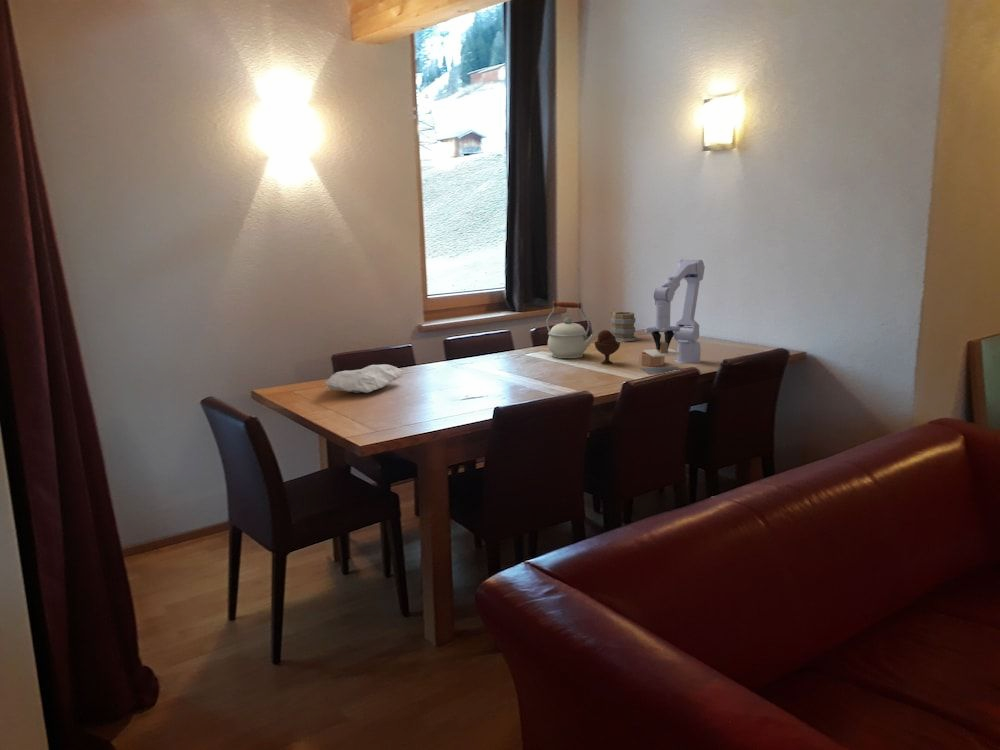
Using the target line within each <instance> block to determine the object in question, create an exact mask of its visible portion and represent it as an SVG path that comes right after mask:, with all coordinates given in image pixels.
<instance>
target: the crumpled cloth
mask: <svg viewBox="0 0 1000 750" xmlns="http://www.w3.org/2000/svg"><path fill="white" fill-rule="evenodd" d="M403 373H404V371H403V369H400V368H398V367H397V366H393V365H391V364H385V363H383V364H371V365H370V364H369V365H367V366H365V367H363V368H361V369H354V370H353V369H351V370H342V371H337V372H334V374H332V375H331V376H330V377H328V380H326V381H325V382H324V385H325V386H326V387H327V388H328V389H330V390H335V391H342V392H348V393H351V392H352V393H354V394H359V393H366V394H367V393H371V392H373V391H376V390H378V389H381V388H384V387H386V386H387V385H389V384H390V383H392V382H394V381H396V380H398V379H399V378H401V376H403Z"/></svg>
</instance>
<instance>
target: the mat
mask: <svg viewBox="0 0 1000 750" xmlns="http://www.w3.org/2000/svg"><path fill="white" fill-rule="evenodd" d="M639 369H640V371H643V372H645V373H646V374H648V376H649V375H650V376H651V375H661V374H660V373H665V372H669V371H673V370H679V369H681V368H680V367H678V366H662V367H661V366H657V367H645V368H644V367H643V368H642V367H641V368H639Z"/></svg>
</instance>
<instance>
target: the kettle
mask: <svg viewBox="0 0 1000 750" xmlns="http://www.w3.org/2000/svg"><path fill="white" fill-rule="evenodd" d="M583 304H584V303H583V302H578V303H577V302H572V301H571V302H570V301H556V300H555V301H552V311H551V312H550V313H549V314H548V316H547V317H546V321H545V323H546V325H545V326H546V328H547V330H548V331H547V332H548V333H547V335H548V339H547V348H548V350H549V352H551V356H552V357H553V356H554V357H553V358H556V357H558V358H557V359H562V358H573V359H580V358H582V357H584V353H585V352H586V351H587V348H588V347H590V345H592V342H593V341H594V339H595V337H596V334H595V333H591V334H590V336H588V333H589V331H590V327H591V324H590V323H591V322H590V320H589V318H588V316H586V314H585V312H584V311H583V310H584V309H583V307H584V305H583ZM557 307H559V308H564V309H565V308H568V309H569V308H570V309H577V308H578V309H580V312H581V315H582V316H583V317H584V318H585V320H586V322H587V329H586V330H585V328H584V326H582V325H581V324H580V323H575V322H572V321H573V320H572V318H570V317H568V316H567V317H565V318H563V322H561V323H556V324H555V325H554V326H552V327H551V328H550V325H549V319H550V318H551V315H552V314H553V313H554V312H555V308H557ZM579 357H580V358H579Z"/></svg>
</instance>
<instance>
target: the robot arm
mask: <svg viewBox="0 0 1000 750" xmlns="http://www.w3.org/2000/svg"><path fill="white" fill-rule="evenodd" d="M704 275H705V263H704V261H703V260H702V259H684V258H681V259H679V261H678V262H677V269H676V271H675V272H674V273H673V275H671V276H669V277H668V278H667V279H666V280H664V282H663V283H662V285H660V286H657V288H655V289H654V292H653V299H654V306H655V326H651V327H644V333H645V334H649V333H650V334H651V336H652V338H653V340H654V344H655V349H657V350H660V341H661V339H662V334H661V333H664V341H665V342H667V343H668V349H670V348H669V347H670V343H671V341H672V339H673V338H674V340H675V341H676V344H677V345H676V346H677V349H676V351H677V352H679V353H681V354H682V355H678V356H676V359H674V358H673V361H675V362H677V363H679V364H692V363H693V364H694V363H701V347H702V346H701V343H700V342H699V341H698V340H699V338H700V324H699V323H698V322H697V321H696V320H695V316H696V308H697V304H698V303H697V302H698V295H699V289H700V282H701V281H702V280H703V279H704ZM682 280H685V281H686V283H687V284H686V289H685V290H686V291H685V296H684V304H683V310H682V317H681V319H679V320H678V321H676V323H675V325H671V305H672V304H671V302H672V301H673V300H674V296H675V294H676V293H675V292H676V291H677V289H678V288H679V287H680V286H681V281H682Z"/></svg>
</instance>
